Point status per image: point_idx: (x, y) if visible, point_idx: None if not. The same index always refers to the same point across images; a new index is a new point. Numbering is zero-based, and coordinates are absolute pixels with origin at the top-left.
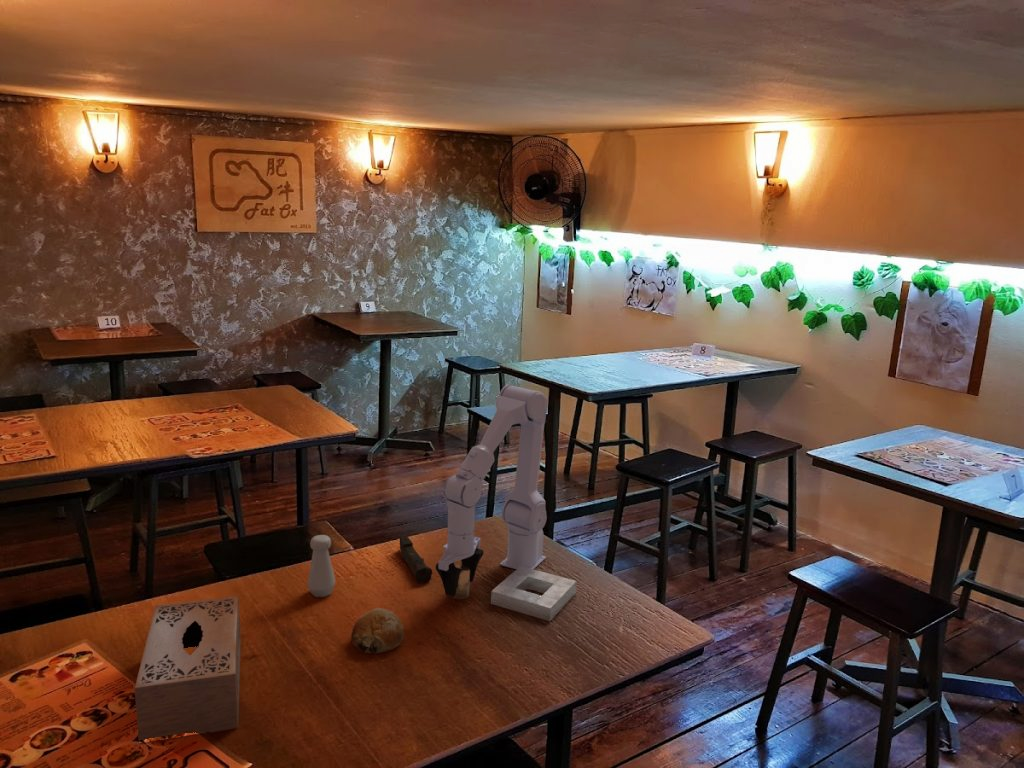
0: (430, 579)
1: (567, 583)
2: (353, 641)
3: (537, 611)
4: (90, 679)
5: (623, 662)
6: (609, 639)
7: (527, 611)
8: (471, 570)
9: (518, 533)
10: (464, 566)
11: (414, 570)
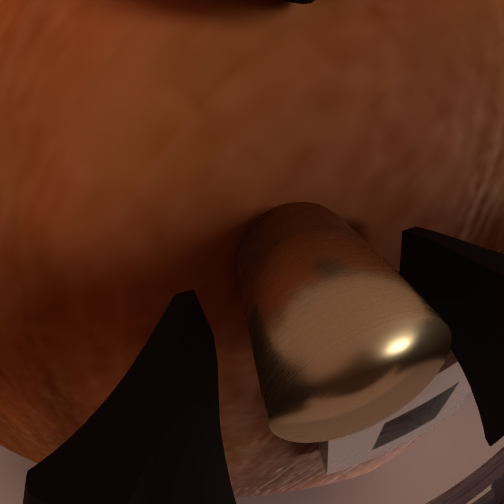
0: (303, 3)
1: (439, 421)
2: None
3: (322, 453)
4: None
5: (280, 490)
6: (320, 474)
7: None
8: (446, 319)
9: None
10: (432, 367)
11: None
